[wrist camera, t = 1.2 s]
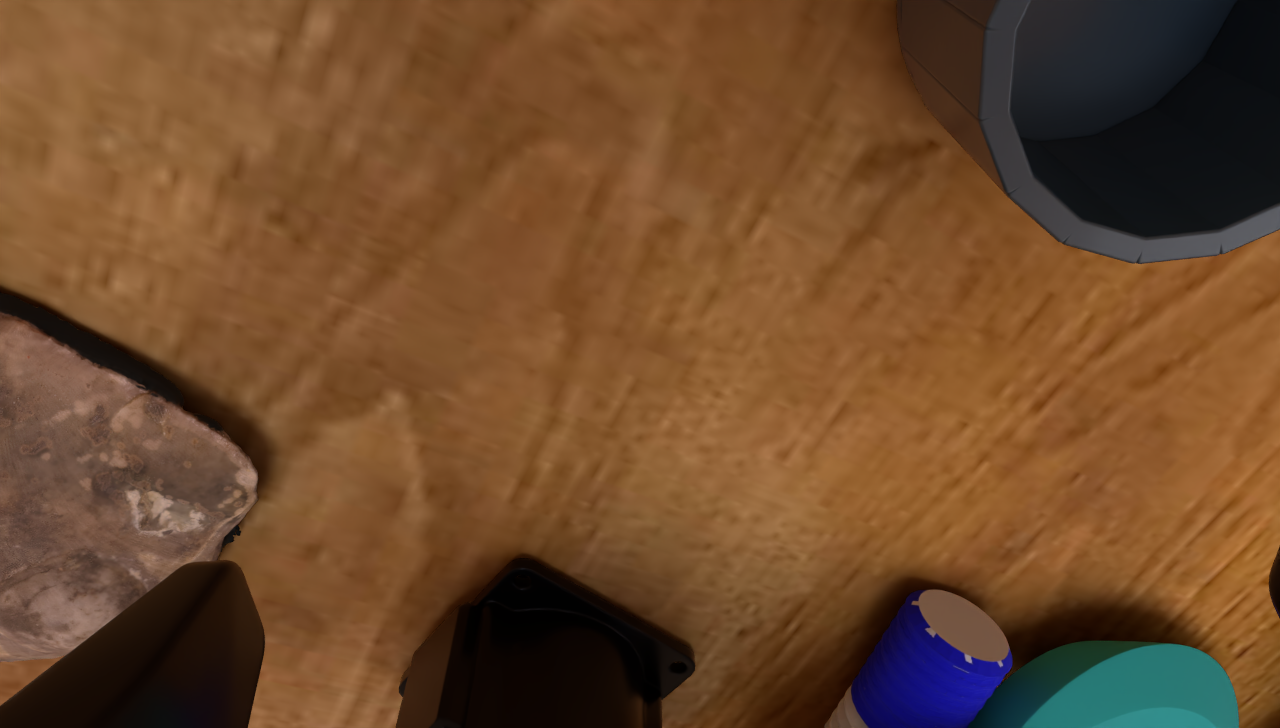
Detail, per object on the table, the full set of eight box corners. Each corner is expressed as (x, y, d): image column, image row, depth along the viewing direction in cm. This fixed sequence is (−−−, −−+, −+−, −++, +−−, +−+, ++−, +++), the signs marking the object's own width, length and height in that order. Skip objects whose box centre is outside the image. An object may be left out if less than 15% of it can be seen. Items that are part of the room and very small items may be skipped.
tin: (1334, -48, 19) (1564, 7, 14) (1049, 216, 22) (1164, 336, 17) (1108, -323, 16) (1297, -364, 12) (823, 13, 19) (884, 87, 15)
